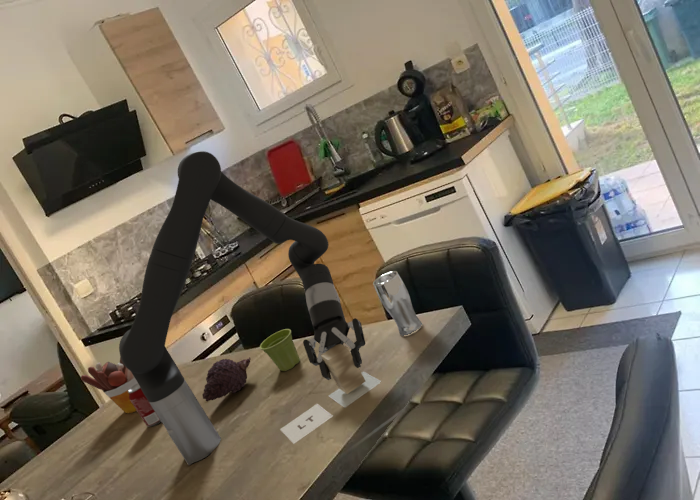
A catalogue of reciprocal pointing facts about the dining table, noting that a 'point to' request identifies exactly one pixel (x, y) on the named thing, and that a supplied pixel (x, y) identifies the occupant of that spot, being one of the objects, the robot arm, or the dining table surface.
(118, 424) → the dining table surface
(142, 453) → the dining table surface
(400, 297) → the beer glass
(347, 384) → the beech block
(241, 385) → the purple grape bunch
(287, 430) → the tile
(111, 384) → the bucket of meat
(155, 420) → the soda can
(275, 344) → the plant pot
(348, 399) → the rest pad
